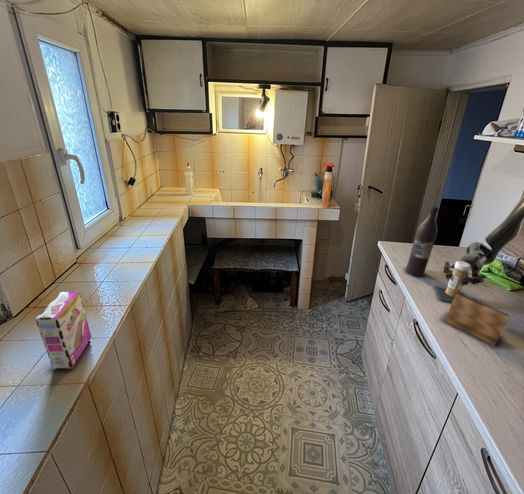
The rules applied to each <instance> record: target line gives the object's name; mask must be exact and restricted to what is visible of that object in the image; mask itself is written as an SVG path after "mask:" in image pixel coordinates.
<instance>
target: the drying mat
mask: <svg viewBox="0 0 524 494" xmlns="http://www.w3.org/2000/svg"><path fill="white" fill-rule="evenodd" d="M446 289H447V288H441V287H436V292H437V295H438V296H439V300H440V301H443V302H447V303H451V304H452V302H453V299H454V297H451V296H449V295H448V294H446V292H445V291H446ZM459 294H461V295H463V294H462V292H461V291H460V293H459Z"/></svg>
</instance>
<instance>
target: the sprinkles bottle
mask: <svg viewBox="0 0 524 494" xmlns="http://www.w3.org/2000/svg"><path fill="white" fill-rule="evenodd" d="M454 264H455V268H454V270H453V273H452V275H451V278H450V279H449V281H448V282H447V283H448V284H447V287H446V288H445V289H446V291H445V292H446V294H448V295H449V296H451V297H455V296H456V295H459V293H460V292H461V290H462V289H463V285H462V282H463V280H464V279H465V278H466V275H467V273H468V271H469V270H470V267H471V265H470V264H469V263H467V262H464V261H459V260H457V261H456V262H455V263H454Z"/></svg>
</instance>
